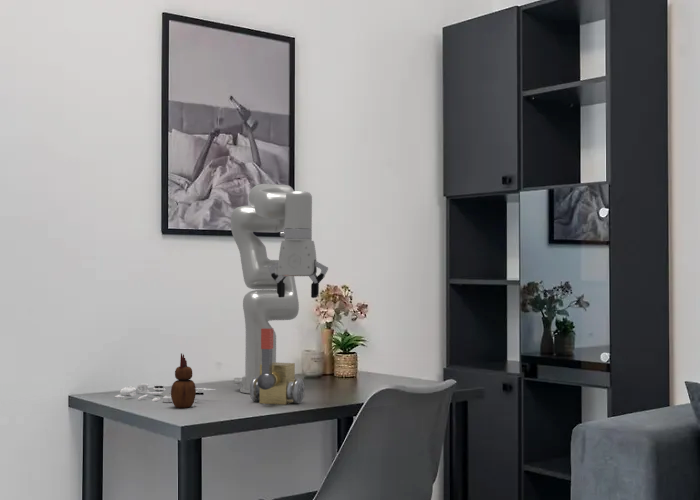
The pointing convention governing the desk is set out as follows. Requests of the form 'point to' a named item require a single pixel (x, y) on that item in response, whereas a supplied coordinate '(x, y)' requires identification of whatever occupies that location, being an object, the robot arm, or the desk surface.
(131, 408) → the desk surface
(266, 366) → the lever
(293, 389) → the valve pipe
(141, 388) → the miniature set
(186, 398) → the wooden figurine
